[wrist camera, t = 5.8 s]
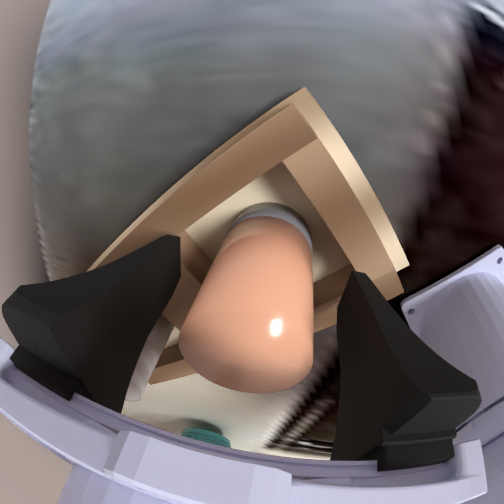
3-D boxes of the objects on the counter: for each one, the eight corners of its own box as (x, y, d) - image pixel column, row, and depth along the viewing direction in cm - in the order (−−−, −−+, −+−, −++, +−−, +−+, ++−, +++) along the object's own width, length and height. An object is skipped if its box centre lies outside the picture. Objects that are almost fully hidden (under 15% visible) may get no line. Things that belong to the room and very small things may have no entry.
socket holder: (403, 252, 14) (446, 354, 8) (161, 359, 23) (131, 426, 17) (304, 87, 11) (308, 75, 5) (78, 280, 20) (27, 341, 14)
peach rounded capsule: (326, 253, 14) (336, 374, 8) (260, 286, 15) (234, 401, 9) (281, 186, 12) (261, 283, 6) (212, 229, 14) (152, 334, 8)
